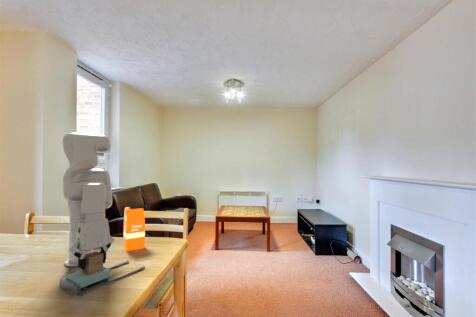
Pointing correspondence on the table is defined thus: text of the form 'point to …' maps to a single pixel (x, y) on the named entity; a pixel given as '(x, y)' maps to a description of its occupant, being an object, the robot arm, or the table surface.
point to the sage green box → (89, 277)
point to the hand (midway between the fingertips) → (92, 265)
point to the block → (93, 263)
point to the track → (76, 288)
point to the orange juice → (134, 229)
